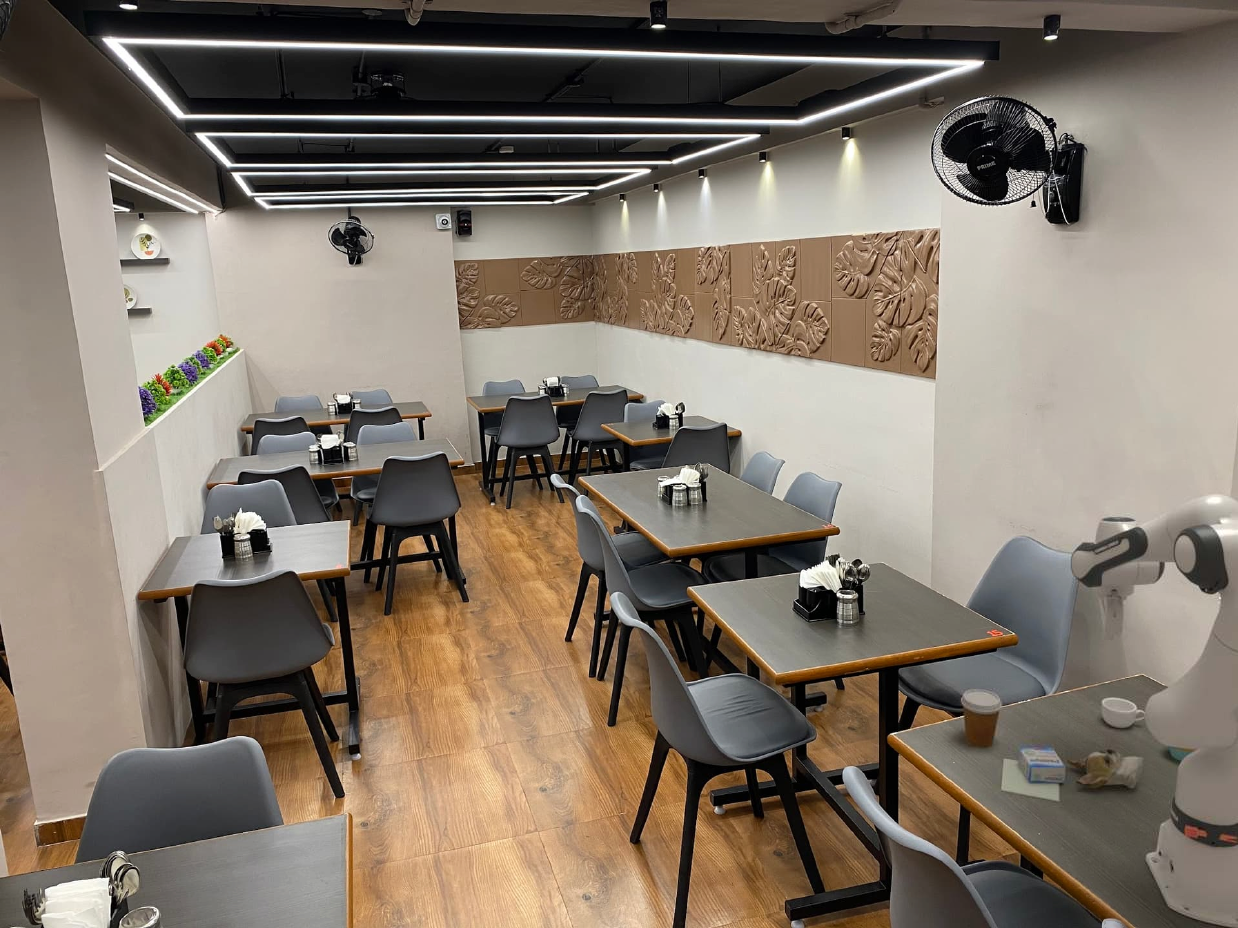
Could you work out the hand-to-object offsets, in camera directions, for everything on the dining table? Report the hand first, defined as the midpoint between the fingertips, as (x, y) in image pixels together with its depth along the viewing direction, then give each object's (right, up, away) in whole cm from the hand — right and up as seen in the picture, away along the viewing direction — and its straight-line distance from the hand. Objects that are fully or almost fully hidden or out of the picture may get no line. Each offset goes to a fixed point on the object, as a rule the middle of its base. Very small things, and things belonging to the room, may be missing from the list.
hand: (1108, 637), depth 213 cm
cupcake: (+19, -29, +2) cm, 35 cm away
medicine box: (-17, -28, +2) cm, 33 cm away
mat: (-20, -32, -4) cm, 39 cm away
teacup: (+13, -26, +18) cm, 34 cm away
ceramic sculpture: (-4, -33, -6) cm, 33 cm away
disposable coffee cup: (-25, -29, +13) cm, 41 cm away
